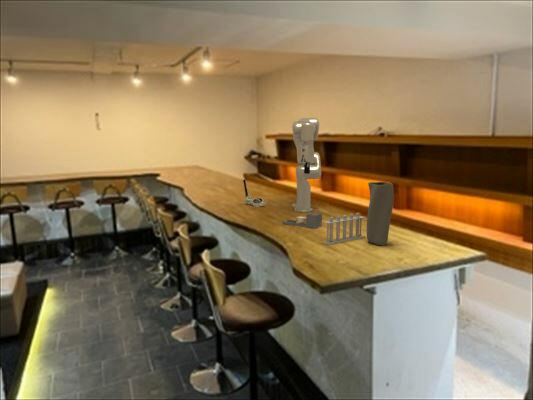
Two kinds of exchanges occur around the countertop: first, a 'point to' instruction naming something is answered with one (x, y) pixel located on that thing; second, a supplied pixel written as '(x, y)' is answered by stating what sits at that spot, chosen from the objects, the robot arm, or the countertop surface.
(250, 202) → the butterfly valve
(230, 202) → the countertop surface
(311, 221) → the end cap
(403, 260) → the countertop surface
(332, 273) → the countertop surface
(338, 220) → the test tube rack
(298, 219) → the beige rectangular block
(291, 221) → the guide channel
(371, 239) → the vase
